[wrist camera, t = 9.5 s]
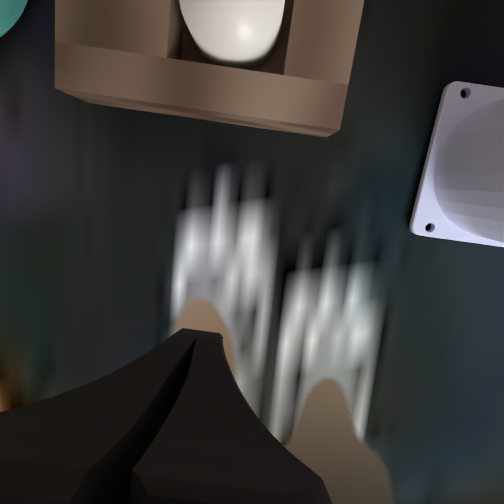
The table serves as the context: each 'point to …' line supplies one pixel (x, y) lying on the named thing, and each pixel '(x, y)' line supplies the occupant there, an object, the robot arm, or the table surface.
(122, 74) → the button panel
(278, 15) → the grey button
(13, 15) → the decorative dice
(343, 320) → the table surface
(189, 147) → the table surface
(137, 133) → the table surface
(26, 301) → the table surface
